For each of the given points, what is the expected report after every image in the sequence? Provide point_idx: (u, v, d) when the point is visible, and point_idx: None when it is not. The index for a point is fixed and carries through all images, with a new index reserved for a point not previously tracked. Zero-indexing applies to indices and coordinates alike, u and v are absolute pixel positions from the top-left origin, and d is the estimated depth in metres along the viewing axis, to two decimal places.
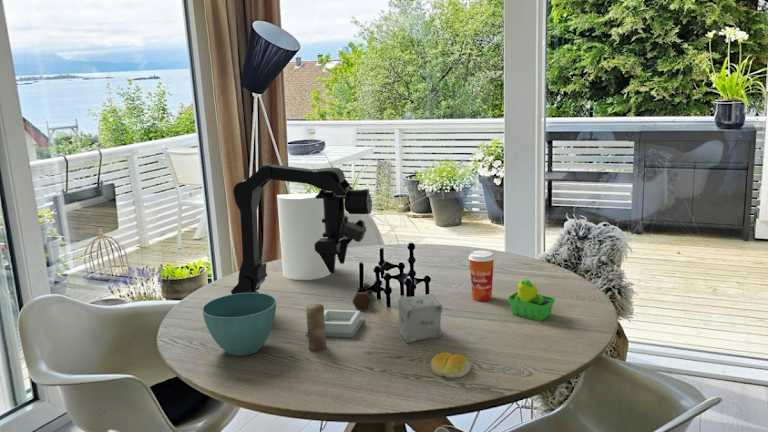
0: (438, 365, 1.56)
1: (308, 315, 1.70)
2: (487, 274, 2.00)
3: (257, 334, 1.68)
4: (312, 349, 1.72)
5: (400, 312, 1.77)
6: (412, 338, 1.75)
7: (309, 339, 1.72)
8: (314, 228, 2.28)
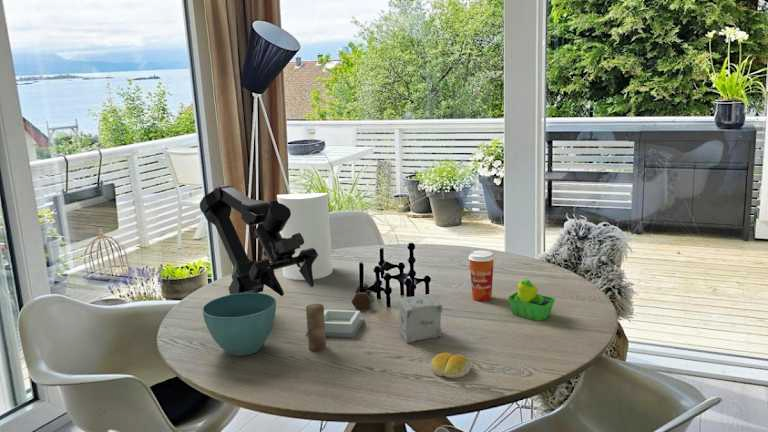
0: (438, 365, 1.55)
1: (308, 315, 1.71)
2: (487, 274, 2.00)
3: (257, 334, 1.68)
4: (312, 349, 1.72)
5: (400, 312, 1.77)
6: (412, 338, 1.75)
7: (309, 339, 1.72)
8: (314, 228, 2.28)
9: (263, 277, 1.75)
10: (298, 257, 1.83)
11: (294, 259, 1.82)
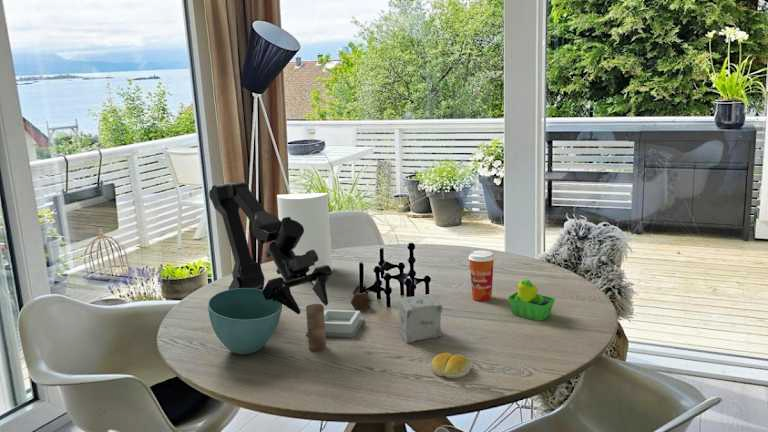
0: (439, 365, 1.55)
1: (308, 315, 1.70)
2: (487, 274, 2.00)
3: (260, 337, 1.67)
4: (312, 349, 1.72)
5: (400, 312, 1.77)
6: (412, 338, 1.75)
7: (309, 339, 1.72)
8: (314, 228, 2.28)
9: (279, 295, 1.71)
10: (312, 275, 1.79)
11: (308, 277, 1.78)
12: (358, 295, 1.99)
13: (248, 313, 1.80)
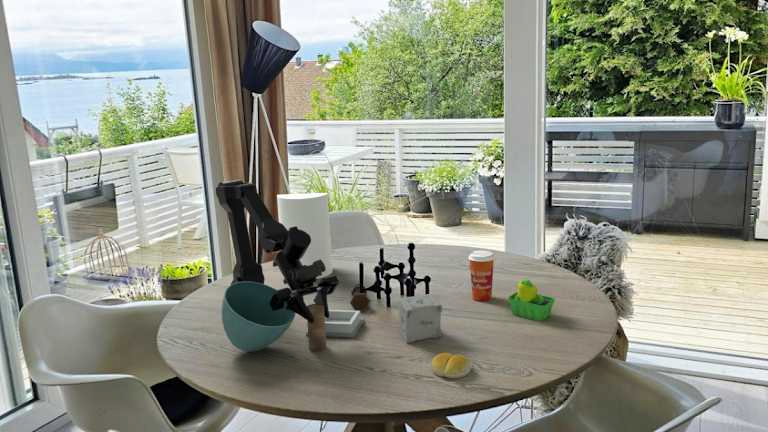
0: (439, 365, 1.55)
1: None
2: (487, 274, 2.00)
3: (266, 342, 1.67)
4: (312, 349, 1.72)
5: (400, 312, 1.77)
6: (412, 338, 1.75)
7: (309, 339, 1.72)
8: (314, 228, 2.28)
9: (292, 304, 1.71)
10: (319, 285, 1.77)
11: (315, 287, 1.76)
12: (357, 295, 1.99)
13: (256, 308, 1.79)
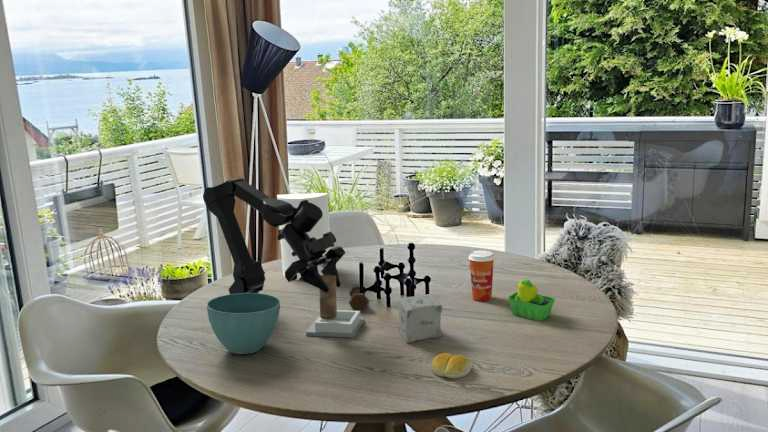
0: (439, 365, 1.55)
1: None
2: (487, 274, 2.00)
3: (254, 333, 1.67)
4: (325, 317, 1.79)
5: (400, 312, 1.77)
6: (412, 338, 1.75)
7: (322, 308, 1.79)
8: (314, 228, 2.28)
9: (306, 275, 1.76)
10: (326, 256, 1.84)
11: (323, 258, 1.82)
12: (356, 296, 1.98)
13: None
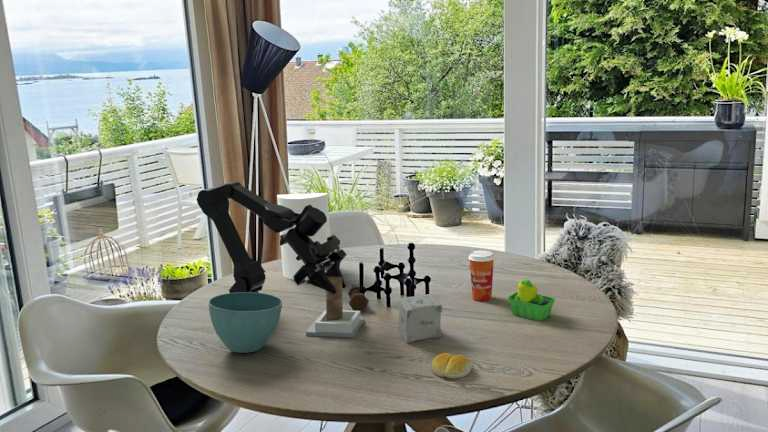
0: (439, 365, 1.55)
1: None
2: (487, 274, 2.00)
3: (258, 332, 1.67)
4: (332, 318, 1.83)
5: (400, 312, 1.77)
6: (412, 338, 1.75)
7: (329, 309, 1.83)
8: None
9: (314, 278, 1.80)
10: (329, 259, 1.88)
11: (327, 261, 1.87)
12: (356, 296, 1.98)
13: None
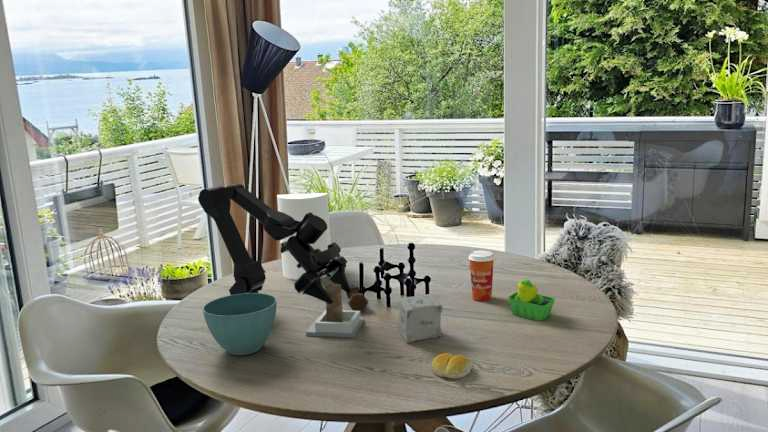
0: (439, 365, 1.55)
1: (329, 294, 1.82)
2: (487, 274, 2.00)
3: (257, 333, 1.67)
4: None
5: (400, 312, 1.77)
6: (412, 338, 1.75)
7: (329, 317, 1.84)
8: None
9: (310, 288, 1.79)
10: (330, 266, 1.89)
11: (327, 269, 1.87)
12: (356, 296, 1.98)
13: None
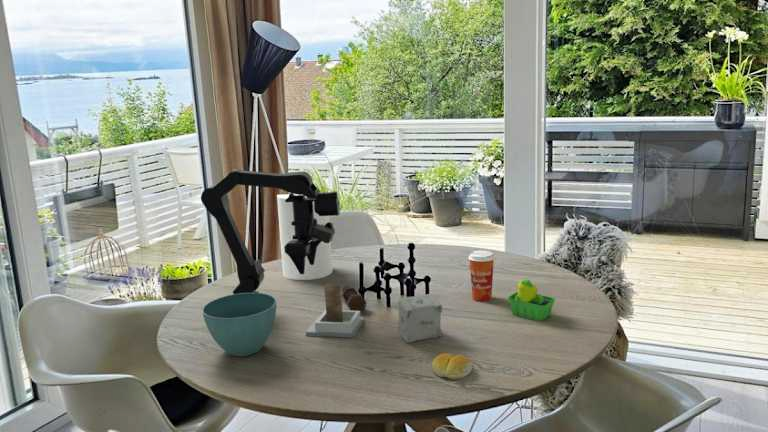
0: (440, 366, 1.55)
1: (329, 293, 1.82)
2: (487, 274, 2.00)
3: (258, 334, 1.67)
4: None
5: (400, 312, 1.77)
6: (412, 338, 1.75)
7: (329, 316, 1.84)
8: None
9: None
10: None
11: None
12: (355, 297, 1.97)
13: None
